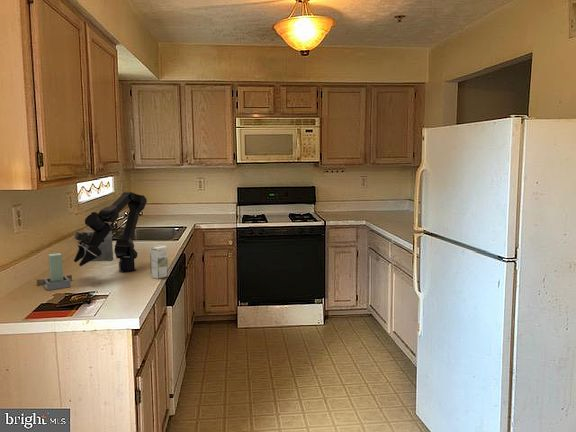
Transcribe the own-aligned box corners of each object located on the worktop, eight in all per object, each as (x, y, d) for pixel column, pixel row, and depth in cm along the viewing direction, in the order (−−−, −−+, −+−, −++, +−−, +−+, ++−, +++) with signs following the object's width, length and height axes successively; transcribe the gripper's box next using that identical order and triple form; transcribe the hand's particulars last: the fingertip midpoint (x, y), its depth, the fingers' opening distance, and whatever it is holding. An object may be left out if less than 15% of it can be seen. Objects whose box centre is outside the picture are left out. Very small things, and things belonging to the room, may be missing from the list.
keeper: (66, 282, 213) (65, 275, 213) (70, 286, 206) (70, 280, 205) (43, 285, 208) (43, 278, 207) (47, 290, 201) (46, 283, 200)
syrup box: (160, 274, 226) (159, 244, 224) (168, 276, 222) (167, 246, 220) (150, 277, 221) (149, 246, 220) (158, 279, 218) (157, 248, 216)
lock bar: (61, 284, 210) (59, 253, 208) (63, 286, 206) (61, 254, 204) (50, 286, 207) (48, 254, 205) (52, 288, 204) (50, 256, 202)
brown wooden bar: (71, 279, 217) (70, 274, 217) (72, 280, 216) (71, 275, 216) (36, 284, 209) (36, 279, 209) (37, 285, 208) (37, 280, 208)
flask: (87, 259, 259) (85, 226, 257) (114, 259, 260) (112, 226, 258) (84, 261, 256) (82, 227, 254) (112, 260, 256) (110, 227, 254)
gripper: (79, 221, 218) (56, 250, 214) (90, 227, 203) (66, 257, 199) (99, 235, 224) (78, 263, 220) (111, 241, 209) (88, 271, 205)
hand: (77, 263), depth 211 cm, fingers open, 9 cm apart
